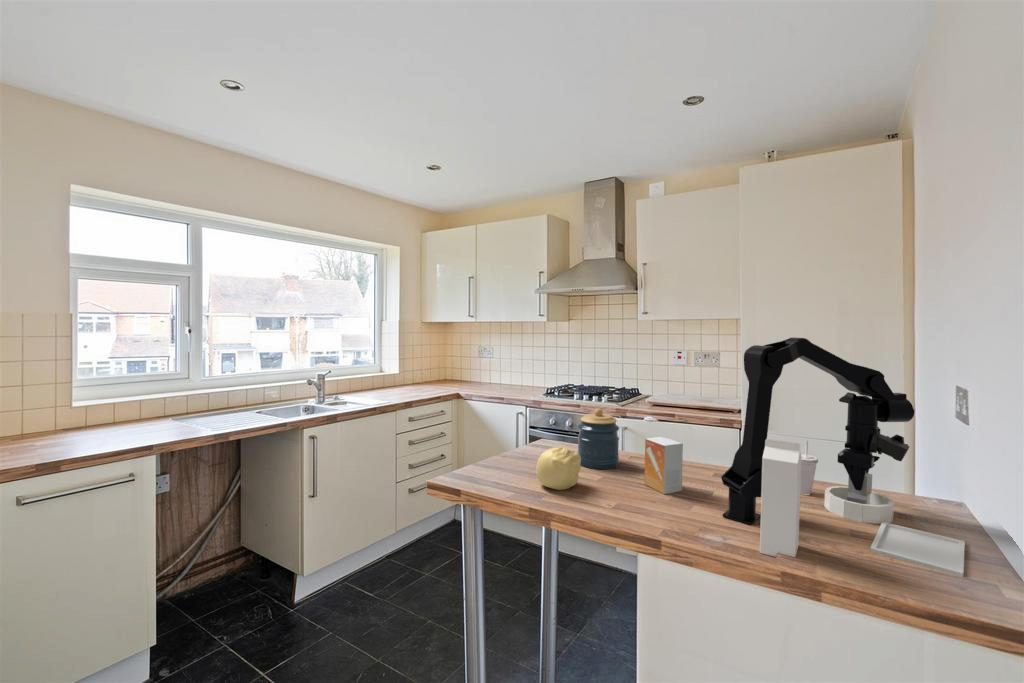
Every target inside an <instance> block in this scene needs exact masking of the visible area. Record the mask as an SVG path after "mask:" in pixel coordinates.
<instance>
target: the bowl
mask: <svg viewBox="0 0 1024 683" xmlns="http://www.w3.org/2000/svg"><path fill="white" fill-rule="evenodd" d="M849 493H851V492H849ZM854 494H855V493H854ZM847 495H848V486H846V485H845V486H841V485H835V486H828V487H827V488H826V489H825V490H824V508H825V509H827V511H829V513H831V514H833V515H836V516H838V517H841V518H844V519H846V520H851V521H855V522H860V523H865V524H873V525H874V524H876V525H881V523H882V522H886V523H891V524H892V522H893V519H894V513H895V512H894V508H895V507H894V506H895V501H894V500H893V499H891V498H890V497H889V496H887V495H885V494H881V493H879V492H876V491H873V490H872V493H871V494H869V495H868V496H867V504H860V503H856V502H851V501H847Z"/></svg>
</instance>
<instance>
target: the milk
mask: <svg viewBox="0 0 1024 683" xmlns="http://www.w3.org/2000/svg"><path fill="white" fill-rule="evenodd" d="M801 454H802V453H801V444H800V443H799V442H793V441H786V440H778V439H771V438H767V439H766V440H765V449H764V453H763V458H762V492H761V497H760V498H761V499H760V500H761V501H760V502H761V503H760V515H761V517H760V529H759V530H760V536H759V537H760V539H759V553H760V554H763V555H766V556H770V557H774V558H777V557H778V554H781V555H784V556H788V557H792V558H796V556H797V552H798V548H799V541H800V513H801V512H800V508H801V506H800V505H801V504H800V503H801V495H800V481H801Z"/></svg>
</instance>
